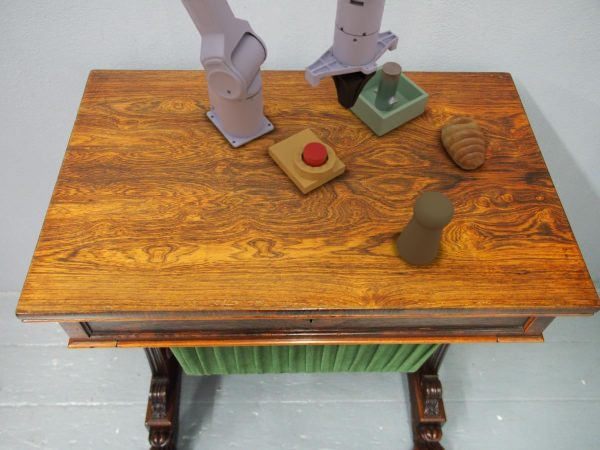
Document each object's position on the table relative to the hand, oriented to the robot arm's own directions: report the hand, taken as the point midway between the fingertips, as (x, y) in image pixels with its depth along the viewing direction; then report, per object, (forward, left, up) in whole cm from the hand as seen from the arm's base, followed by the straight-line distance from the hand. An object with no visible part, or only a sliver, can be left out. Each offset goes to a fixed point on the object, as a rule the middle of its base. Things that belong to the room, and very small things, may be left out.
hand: (345, 104), depth 73 cm
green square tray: (-4, +13, -10) cm, 17 cm away
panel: (-1, -6, -10) cm, 12 cm away
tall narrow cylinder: (-4, +13, -10) cm, 17 cm away
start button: (+1, -6, -7) cm, 10 cm away
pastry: (+11, +18, -11) cm, 24 cm away
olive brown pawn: (+21, -2, -11) cm, 24 cm away
